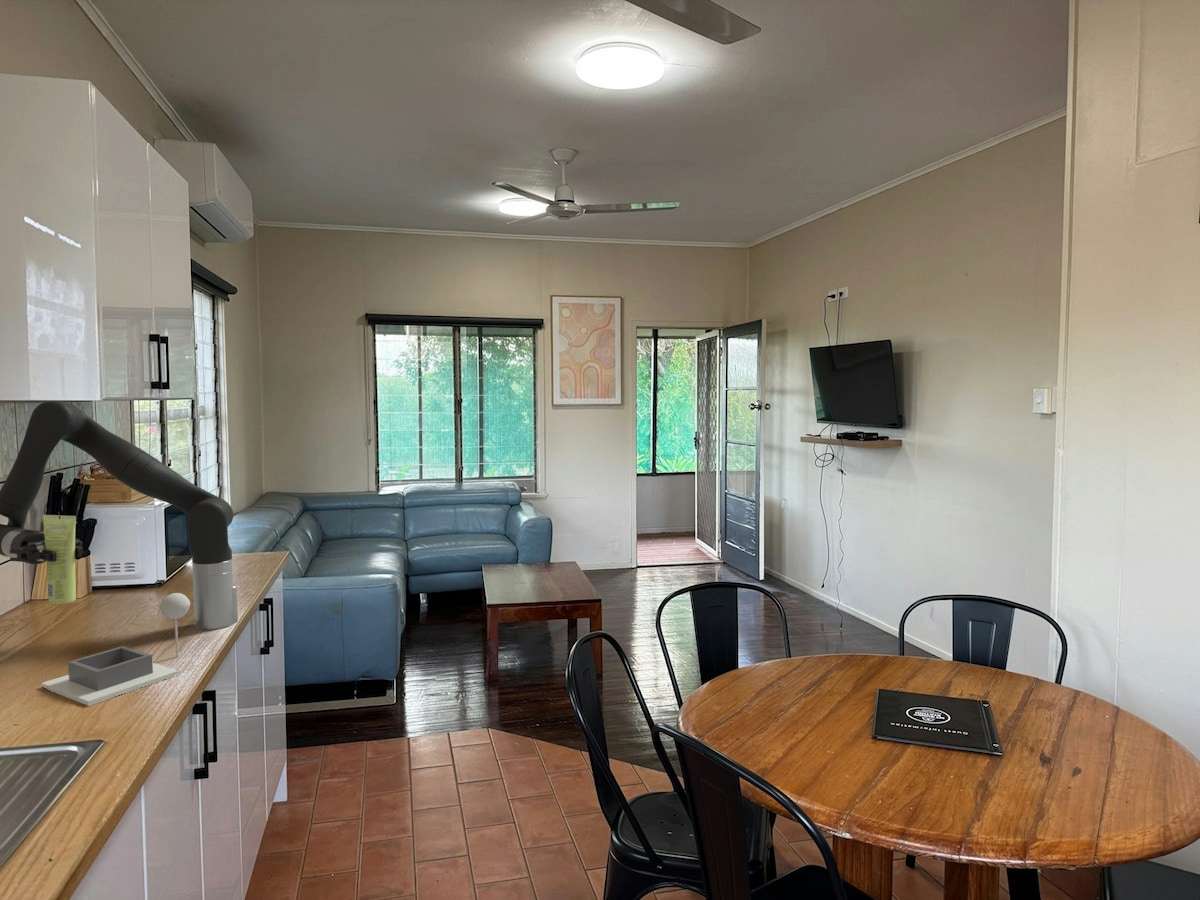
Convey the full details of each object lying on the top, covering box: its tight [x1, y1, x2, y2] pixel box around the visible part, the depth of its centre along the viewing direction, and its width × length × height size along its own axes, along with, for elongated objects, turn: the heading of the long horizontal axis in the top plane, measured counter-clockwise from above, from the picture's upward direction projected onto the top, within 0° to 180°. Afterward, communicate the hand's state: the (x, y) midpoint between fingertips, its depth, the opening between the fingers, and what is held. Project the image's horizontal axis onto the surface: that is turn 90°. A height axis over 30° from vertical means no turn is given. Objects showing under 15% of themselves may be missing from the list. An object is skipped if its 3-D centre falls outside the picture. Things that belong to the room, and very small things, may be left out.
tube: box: [42, 514, 77, 605], centre depth 164 cm, size 6×5×20 cm
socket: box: [41, 645, 180, 707], centre depth 157 cm, size 18×18×5 cm
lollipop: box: [159, 592, 191, 657], centre depth 171 cm, size 6×6×15 cm
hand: (67, 554), depth 162 cm, fingers closed on tube, 4 cm apart
